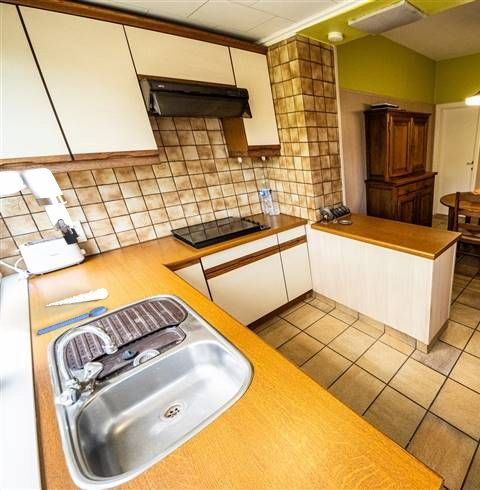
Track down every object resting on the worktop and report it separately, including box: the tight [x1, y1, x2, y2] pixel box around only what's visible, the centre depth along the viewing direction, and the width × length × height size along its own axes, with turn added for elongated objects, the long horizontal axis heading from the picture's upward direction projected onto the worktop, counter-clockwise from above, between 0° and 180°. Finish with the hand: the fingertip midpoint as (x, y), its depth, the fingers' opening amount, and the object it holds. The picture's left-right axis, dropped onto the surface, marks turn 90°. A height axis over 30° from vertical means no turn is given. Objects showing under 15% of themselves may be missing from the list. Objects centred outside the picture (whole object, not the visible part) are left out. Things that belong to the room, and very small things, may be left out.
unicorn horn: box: [45, 288, 108, 307], centre depth 122 cm, size 5×24×5 cm, turn 99°
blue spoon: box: [37, 305, 107, 335], centre depth 109 cm, size 20×5×1 cm, turn 136°
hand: (73, 240), depth 111 cm, fingers open, 9 cm apart
